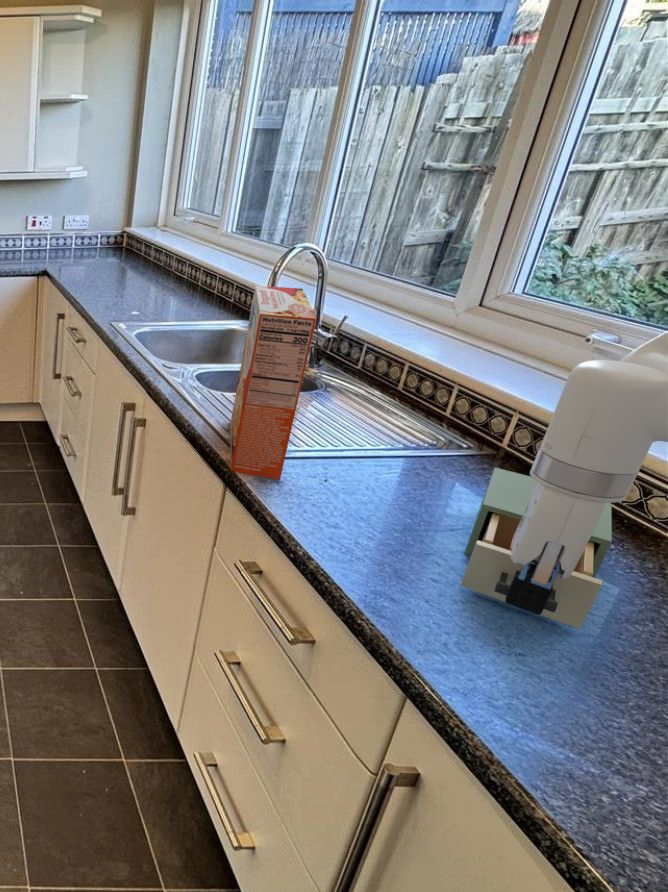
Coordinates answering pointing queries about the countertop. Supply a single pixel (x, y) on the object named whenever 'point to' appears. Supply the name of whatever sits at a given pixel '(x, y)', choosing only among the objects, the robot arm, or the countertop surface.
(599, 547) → the cabinet
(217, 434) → the countertop surface
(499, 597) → the drawer
